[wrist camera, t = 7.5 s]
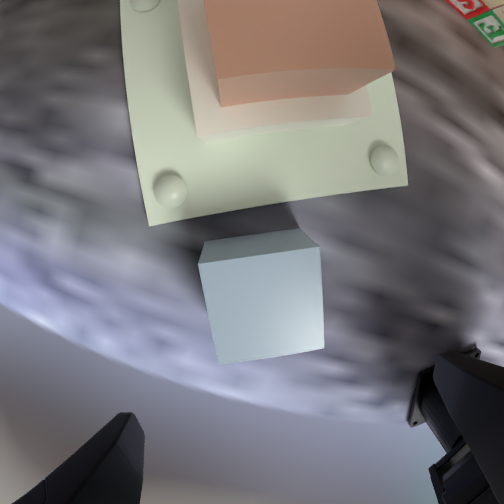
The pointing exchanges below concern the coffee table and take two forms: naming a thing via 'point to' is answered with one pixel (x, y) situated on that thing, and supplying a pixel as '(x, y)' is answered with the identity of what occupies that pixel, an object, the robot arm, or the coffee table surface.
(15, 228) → the coffee table surface
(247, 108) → the brick cream
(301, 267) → the brick blue
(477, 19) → the stack of blocks
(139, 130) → the baseplate
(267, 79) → the brick terracotta
